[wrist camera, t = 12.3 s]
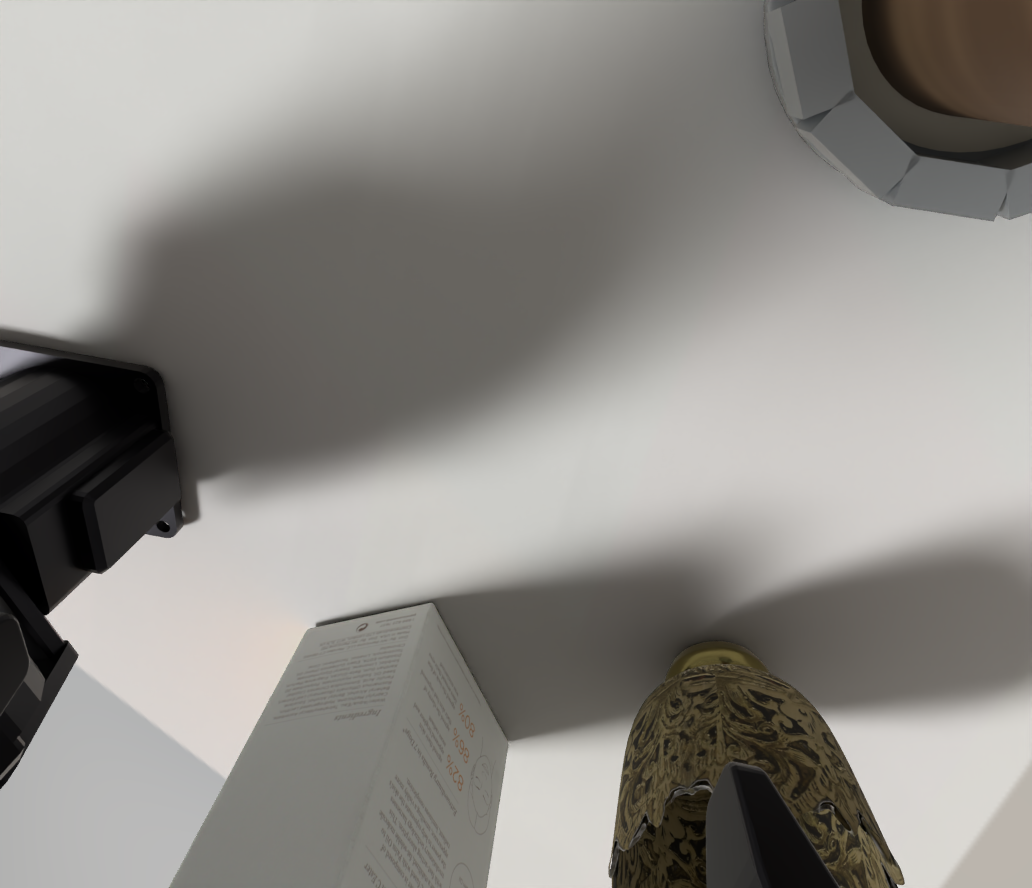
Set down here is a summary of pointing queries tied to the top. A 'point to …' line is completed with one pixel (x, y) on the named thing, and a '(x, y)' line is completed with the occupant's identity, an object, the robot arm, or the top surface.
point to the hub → (888, 121)
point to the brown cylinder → (956, 55)
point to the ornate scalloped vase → (744, 739)
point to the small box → (361, 769)
